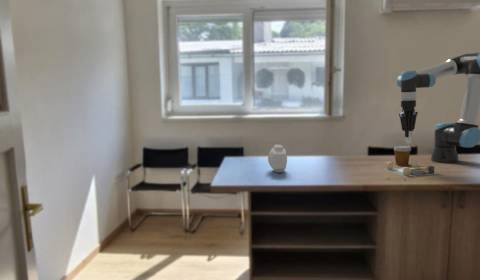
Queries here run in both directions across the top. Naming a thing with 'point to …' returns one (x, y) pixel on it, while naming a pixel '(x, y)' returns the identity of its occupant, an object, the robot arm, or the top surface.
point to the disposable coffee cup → (402, 155)
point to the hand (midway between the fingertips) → (408, 142)
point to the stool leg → (425, 169)
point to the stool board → (406, 170)
